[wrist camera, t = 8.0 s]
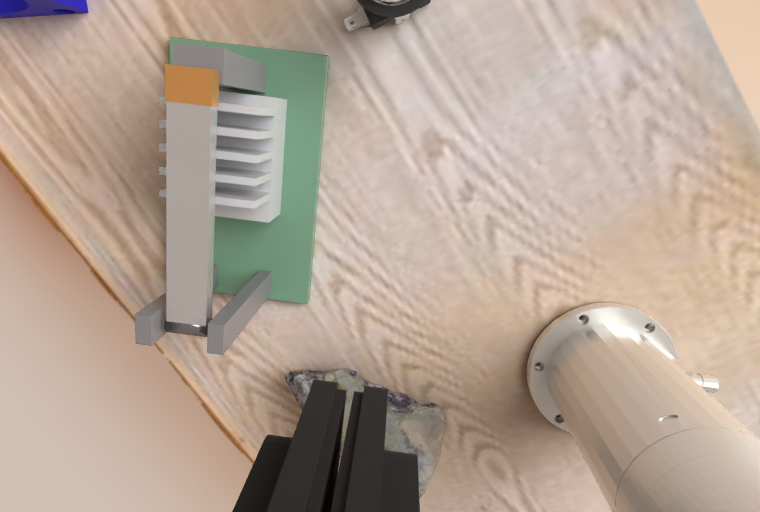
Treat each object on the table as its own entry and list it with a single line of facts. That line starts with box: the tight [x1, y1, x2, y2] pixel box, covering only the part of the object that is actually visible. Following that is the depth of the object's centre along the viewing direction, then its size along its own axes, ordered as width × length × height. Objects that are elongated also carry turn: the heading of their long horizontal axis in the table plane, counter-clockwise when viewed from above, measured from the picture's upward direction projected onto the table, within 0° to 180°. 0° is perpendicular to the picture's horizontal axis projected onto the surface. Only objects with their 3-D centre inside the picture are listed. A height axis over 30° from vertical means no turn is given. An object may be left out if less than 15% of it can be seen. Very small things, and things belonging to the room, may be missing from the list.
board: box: [135, 37, 329, 355], centre depth 35 cm, size 12×20×12 cm, turn 173°
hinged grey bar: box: [164, 64, 220, 337], centre depth 30 cm, size 3×17×1 cm, turn 174°
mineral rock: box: [285, 369, 445, 498], centre depth 41 cm, size 13×11×10 cm
